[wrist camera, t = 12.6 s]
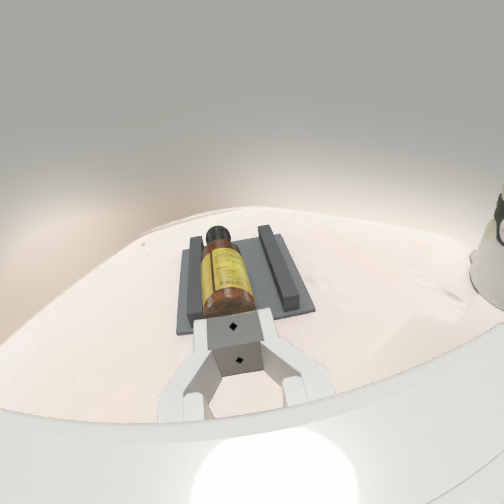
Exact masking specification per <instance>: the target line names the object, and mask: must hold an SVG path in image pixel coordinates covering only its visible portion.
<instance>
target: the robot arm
mask: <svg viewBox="0 0 504 504" xmlns="http://www.w3.org/2000/svg"><path fill="white" fill-rule="evenodd" d="M470 258H471V262H472V267H471V270H470V276H471V280H472V283H473V285H474V287H475V288H476V290H477V291H478V292H479V293H480V295H481V296H482V297H483V298H484V299H485V300H487V301H488V302H489V303H490V304H492V305H493V306H495V307H496V308H498V309H500V310H502V311H504V186H503V191H502V193H501V194H500V195H499V198H498V201H497V203H496V210H495V213H494V219H492V220H490V221H488V223H487V226H486V228H485V231H484V234H483V236H482V239H481V242H480V244H479V247H478V249H477V250H473V251H472V253H471V255H470ZM193 349H194V352H191V353H189V355H188V356H187V357H186V359H185V360H184V361H183V363H182V364H181V365H180V367H179V368H178V369H177V371H176V372H175V373H174V375H173V376H172V378H171V379H170V380H169V382H168V383H167V384H166V386H165V387H164V388H163V390H162V391H161V392H160V394H159V399H158V419H157V423H103V422H87V421H75V420H66V419H57V418H50V417H43V416H37V415H31V414H25V413H20V412H15V411H11V410H6V409H1V408H0V504H504V323H499V324H497V325H495V326H494V327H492V328H490V329H489V330H487V331H486V332H484V333H482V334H480V335H478V336H477V337H475V338H473V339H471V340H470V341H467V342H466V343H464V344H462V345H460V346H458V347H456V348H454V349H452V350H450V351H448V352H446V353H444V354H442V355H439V356H438V357H435V358H433V359H431V360H429V361H426V362H424V363H422V364H420V365H417V366H415V367H413V368H410V369H408V370H405V371H403V372H400V373H398V374H395V375H393V376H390V377H387V378H384V379H382V380H379V381H376V382H373V383H371V384H367V385H364V386H362V387H358V388H355V389H352V390H349V391H346V392H342V393H339V394H336V392H335V389H334V386H333V384H332V381H331V379H330V376H329V373H328V371H327V368H326V367H325V366H323V365H322V364H320V363H319V362H317V361H316V360H314V359H313V358H311V357H310V356H309V355H307V354H306V353H304V352H303V351H301V350H300V349H299V348H297V347H296V346H294V345H293V344H292V343H290V342H289V341H287V340H286V339H285V338H283V337H281V338H279V336H278V333H277V329H276V326H275V323H274V319H273V316H272V312H271V309H270V308H264V309H259V310H254V311H249V312H244V313H238V314H233V315H227V316H220V317H213V318H207V319H200V320H194V325H193ZM261 370H264V371H265V372H266V373H267V374H268V375H269V376H270V377H271V378H272V379H273V380H274V381H275V382H276V383H278V384H279V385H280V386H281V387H282V388H283V406H284V407H283V408H279V409H274V410H268V411H263V412H257V413H251V414H245V415H239V416H232V417H224V418H216V419H215V417H214V415H213V413H212V412H211V410H210V408H209V406H208V405H209V403H210V401H211V399H212V397H213V395H214V393H215V391H216V389H217V387H218V386H219V384H220V382H221V380H222V377H225V376H231V375H236V374H242V373H248V372H255V371H261Z"/></svg>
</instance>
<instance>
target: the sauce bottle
mask: <svg viewBox="0 0 504 504" xmlns="http://www.w3.org/2000/svg"><path fill="white" fill-rule="evenodd" d="M230 240H231V236H230V233H229V231H228V230H227V229H226V228H225V227H223V226H214V227H212V228H210V229H209V230H208V232H207V234H206V242H207V246H206V247H205V248H204V250H203V252H202V255H201V286H202V303H203V313H204V316H205V319H207V318H213V317H220V316H227V315H233V314H238V313H244V312H249V311H254V310H256V307H255V306H256V303H255V299H254V295H253V291H252V288H251V284H250V281H249V277H248V274H247V270H246V267H245V263H244V260H243V258H242V255H241V253H240V250H239V248H238V246H237V245H236V244H233V243H231V242H230Z"/></svg>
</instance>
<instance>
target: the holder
mask: <svg viewBox="0 0 504 504" xmlns="http://www.w3.org/2000/svg"><path fill="white" fill-rule="evenodd" d="M258 232H259V237H257V238H251V239H245V240H239V241H233V242H231V243H233V244H236V245H237V246H238V248H239V250H240V253H241V255H242V258H243V260H244V263H245V267H246V270H247V274H248V277H249V281H250V284H251V288H252V291H253V295H254V299H255V303H256V306H255V307H256V310H259V309H264V308H270V309H271V312H272V316H273V319H274V320H275V319H280V318H285V317H290V316H295V315H300V314H305V313H309V312H314V311H315V307H314V304H313V302H312V300H311V298H310V296H309V293H308V291H307V289H306V287H305V285H304V283H303V281H302V278H301V276H300V274H299V272H298V270H297V268H296V266H295V263H294V261H293V259H292V257H291V255H290V253H289V251H288V249H287V247H286V245H285V243H284V240H283V238H282V236H281V234H275V235H273V232H272V230H271V228H270V226H269V225H263V226H258ZM205 247H206V246H204V245H203V240H202V236H198V237H192V238H190V249H187V250H183V252H182V262H181V273H180V285H179V298H178V312H177V329H176V333H177V335H184V334H191V333H193V325H194V320H200V319H205V316H204V313H203V303H202V286H201V255H202V252H203V250H204V248H205Z"/></svg>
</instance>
